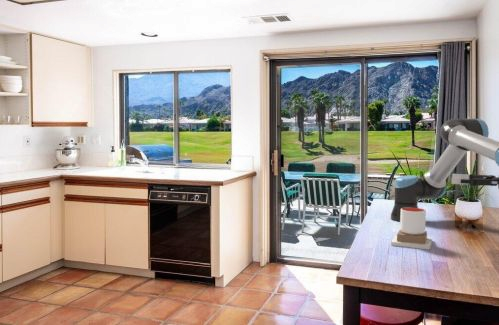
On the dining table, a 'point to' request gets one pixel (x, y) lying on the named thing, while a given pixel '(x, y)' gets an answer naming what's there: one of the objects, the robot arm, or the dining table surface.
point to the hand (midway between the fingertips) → (451, 178)
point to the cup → (412, 221)
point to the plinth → (413, 245)
